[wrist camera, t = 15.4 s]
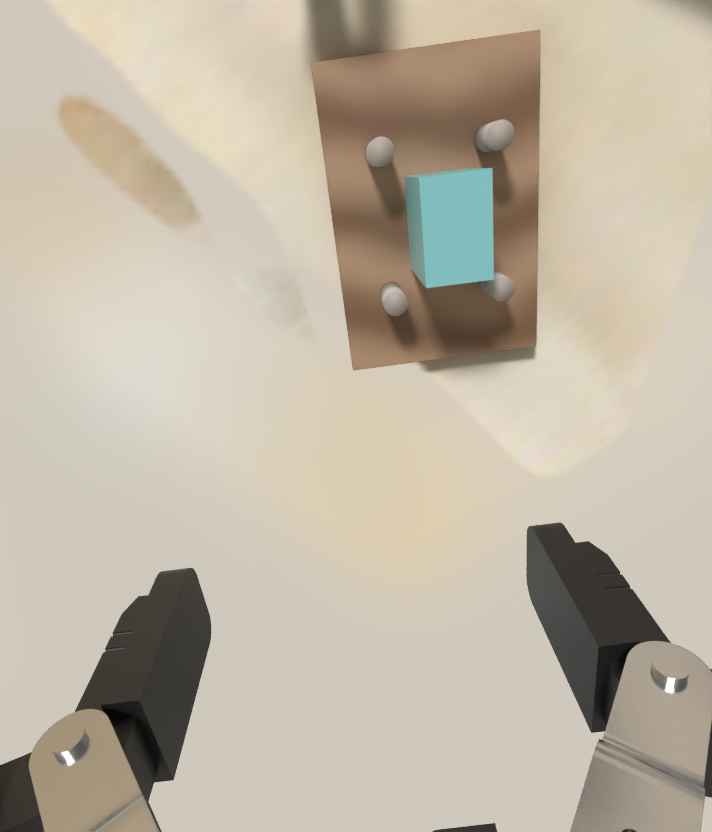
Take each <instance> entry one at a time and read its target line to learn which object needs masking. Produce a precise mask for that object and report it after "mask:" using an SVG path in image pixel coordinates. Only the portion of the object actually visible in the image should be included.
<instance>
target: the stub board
mask: <svg viewBox="0 0 712 832" xmlns="http://www.w3.org/2000/svg"><path fill="white" fill-rule="evenodd" d="M311 67H312V75H313V82H314V89H315V96H316V104H317V111H318V118H319V126H320V133H321V140H322V148H323V155H324V162H325V170H326V177H327V184H328V191H329V199H330V206H331V213H332V221H333V228H334V235H335V243H336V250H337V257H338V264H339V272H340V279H341V286H342V294H343V301H344V307H345V316H346V323H347V330H348V337H349V345H350V352H351V359H352V367H353V370H359V369H367V368H374V367H382V366H390V365H397V364H404V363H412V362H420V361H427V360H435V359H443V358H450V357H458V356H465V355H473V354H480V353H488V352H496V351H503V350H511V349H518V348H526V347H533V346H536V325H537V250H538V175H539V100H540V30H534V31H528V32H521V33H514V34H507V35H500V36H493V37H486V38H479V39H472V40H465V41H458V42H451V43H444V44H437V45H430V46H423V47H416V48H409V49H402V50H395V51H388V52H382V53H375V54H368V55H361V56H354V57H347V58H340V59H333V60H326V61H319V62H312V63H311ZM468 168H492V171H493V248H494V280H487V281H479V282H471V283H463V284H455V285H448V286H440V287H432V288H426V287H425V286H424V285H423V283H422V282H421V281H420V280H419V278H418V277H417V276H416V275H415V273H414V272H413V271H412V269H411V263H410V250H409V237H408V223H407V210H406V197H405V184H404V176H412V175H419V174H427V173H434V172H442V171H450V170H457V169H468Z"/></svg>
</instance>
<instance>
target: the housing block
mask: <svg viewBox="0 0 712 832" xmlns="http://www.w3.org/2000/svg"><path fill="white" fill-rule="evenodd" d="M404 184H405V197H406V210H407V223H408V237H409V250H410V263H411V269H412V271H413V272H414V273H415V275H416V276H417V277H418V278H419V280H420V281H421V282H422V283H423V285H424V286H425V287H426V288H432V287H440V286H448V285H455V284H463V283H471V282H479V281H487V280H494V248H493V171H492V168H468V169H457V170H450V171H442V172H434V173H427V174H419V175H412V176H404Z"/></svg>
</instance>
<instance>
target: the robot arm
mask: <svg viewBox="0 0 712 832" xmlns="http://www.w3.org/2000/svg"><path fill="white" fill-rule="evenodd" d="M527 585H528V590H529V595H530V598H531V601H532V604H533V606H534V608H535V610H536V612H537V615H538V617H539V619H540V621H541V623H542V626H543V628H544V630H545V632H546V635H547V637H548V639H549V641H550V643H551V645H552V647H553V650H554V652H555V654H556V656H557V659H558V661H559V663H560V665H561V667H562V669H563V672H564V674H565V676H566V678H567V680H568V683H569V685H570V687H571V689H572V691H573V694H574V696H575V698H576V700H577V702H578V704H579V707H580V709H581V711H582V713H583V715H584V717H585V719H586V722H587V724H588V726H589V729H590V731H591V732H592V733H593V732H602V731H605V733H604V737H603V739H602V740H599V741H598V743H597V745H596V748H595V751H594V754H593V758H592V761H591V764H590V767H589V771H588V774H587V778H586V781H585V784H584V787H583V791H582V794H581V798H580V801H579V804H578V807H577V811H576V814H575V817H574V820H573V824H572V827H571V831H570V832H701V825H702V817H703V808H704V799H705V796H707V797H712V670H711V669H709V668H708V666H707V665H706V664H705V663H704V662H703V661H702V660H701V659H700V658H699V657H698V656H696V655H695V654H693V653H692V652H690V651H688V650H687V649H685V648H683V647H680V646H678V645H675V644H672V643H670V641H669V640H668V639H667V637H666V636H665V634H664V633H663V632H662V630H661V629H660V627H659V626H658V625H657V623H656V622H655V620H654V619H653V618H652V616H651V615H650V613H649V612H648V611H647V609H646V608H645V606H644V605H643V604H642V602H641V601H640V599H639V598H638V597H637V595H636V594H635V592H634V591H633V590H632V589H630V585H629V584H628V583H627V581H626V580H625V578H624V577H623V576H622V575H620V571H619V570H618V568H617V567H616V566H615V564H614V563H613V561H612V560H611V559H610V557H609V556H608V555H607V554H606V553H604V552H603V551H602V550H600V549H599V548H597V547H596V546H594V545H593V544H591V543H590V542H580V543H575V542H574V540H573V539H572V537H571V535H570V534H569V533H568V531H567V529H566V528H565V526H564V525H563V524H562V523H553V524H544V525H536V526H529V527H528V529H527ZM210 639H211V621H210V615H209V612H208V609H207V606H206V602H205V599H204V596H203V593H202V590H201V587H200V584H199V581H198V577H197V574H196V572H195V570H194V569H193V568H186V569H179V570H170V571H162V572H160V573H159V574H158V575H157V577H156V580H155V582H154V584H153V586H152V589H151V591H150V593H149V595H147V596H139V597H138V598H137V599H136V600H135V601H134V602H133V603H132V604H131V605H130V606H129V607H128V608H127V609H126V610H125V611H124V612H123V614H122V615H121V617H120V619H119V621H118V623H117V625H116V627H115V629H114V632H113V637H111V638H110V640H109V642H108V644H107V646H106V648H105V649H106V651H105V652H104V653H103V655H102V657H101V659H100V661H99V663H98V665H97V667H96V669H95V671H94V673H93V675H92V677H91V680H90V681H89V683H88V686H87V688H86V690H85V692H84V694H83V696H82V698H81V700H80V702H79V704H78V706H77V708H76V710H75V712H74V713H72V714H69V715H68V716H66V717H64V718H62V719H61V720H59V721H58V722H56V723H55V724H54V725H53V726H51V727H50V728H49V729H48V730H47V731H46V732H45V733H44V734H43V735H42V737H41V738H40V739H39V740H38V742H37V744H36V745H35V746H34V749H33V751H32V752H31V753H29V754H27V755H24V756H22V757H19V758H17V759H15V760H12V761H10V762H7V763H5V764H2V765H0V832H162V831H161V829H160V827H159V825H158V822H157V820H156V818H155V816H154V813H153V811H152V809H151V807H150V805H149V803H148V801H149V797H150V794H151V790H152V787H153V784H154V782H160V781H170V780H174V776H175V772H176V769H177V765H178V761H179V757H180V754H181V750H182V746H183V742H184V739H185V735H186V731H187V727H188V724H189V720H190V716H191V712H192V708H193V705H194V701H195V697H196V693H197V690H198V686H199V682H200V678H201V675H202V670H203V667H204V663H205V659H206V656H207V652H208V648H209V644H210ZM433 832H497V830H496V826H495V823H493V824H484V825H476V826H467V827H458V828H450V829H442V830H435V831H433Z"/></svg>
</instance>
